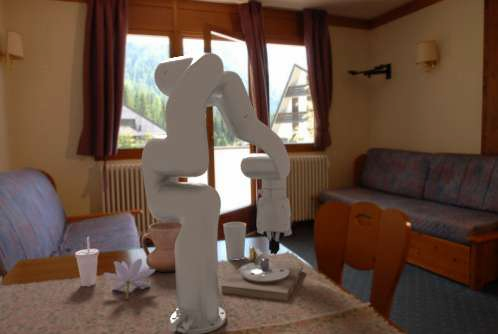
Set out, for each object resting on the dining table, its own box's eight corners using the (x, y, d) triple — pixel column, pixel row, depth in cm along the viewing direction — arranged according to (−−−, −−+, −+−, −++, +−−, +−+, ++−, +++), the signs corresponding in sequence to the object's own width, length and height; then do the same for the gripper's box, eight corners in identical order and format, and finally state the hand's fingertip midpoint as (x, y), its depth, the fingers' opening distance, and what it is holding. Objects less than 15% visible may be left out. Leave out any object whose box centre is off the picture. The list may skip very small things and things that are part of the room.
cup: (246, 261, 125) (245, 226, 124) (223, 261, 125) (222, 227, 124) (247, 254, 133) (246, 221, 132) (225, 254, 133) (224, 222, 132)
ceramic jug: (202, 262, 125) (200, 221, 124) (183, 277, 111) (182, 231, 110) (154, 259, 130) (153, 219, 129) (131, 273, 116) (129, 228, 115)
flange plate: (296, 280, 101) (295, 264, 101) (246, 285, 98) (246, 269, 98) (276, 260, 119) (276, 246, 119) (234, 264, 116) (234, 250, 116)
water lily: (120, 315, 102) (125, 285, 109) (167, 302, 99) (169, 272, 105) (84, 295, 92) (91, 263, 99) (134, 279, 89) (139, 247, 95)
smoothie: (91, 289, 104) (89, 240, 103) (71, 287, 105) (69, 239, 104) (104, 280, 110) (102, 234, 109) (85, 279, 111) (83, 233, 110)
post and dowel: (270, 275, 106) (270, 256, 106) (263, 276, 105) (262, 257, 105) (253, 263, 117) (253, 246, 116) (246, 264, 116) (246, 247, 115)
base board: (287, 300, 94) (286, 293, 93) (221, 292, 99) (221, 285, 99) (302, 271, 114) (302, 265, 114) (247, 266, 120) (247, 260, 120)
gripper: (247, 194, 112) (247, 254, 112) (295, 196, 107) (295, 258, 108) (254, 191, 119) (254, 248, 120) (300, 193, 114) (300, 251, 115)
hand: (274, 252), depth 114 cm, fingers closed
